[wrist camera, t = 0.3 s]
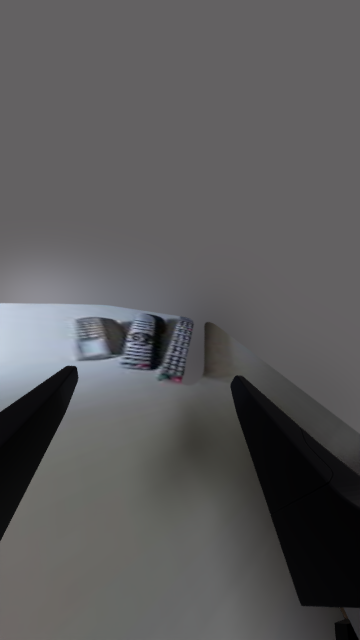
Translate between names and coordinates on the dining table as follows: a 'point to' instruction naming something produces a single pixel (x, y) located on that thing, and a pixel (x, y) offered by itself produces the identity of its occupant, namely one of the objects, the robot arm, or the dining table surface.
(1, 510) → the robot arm
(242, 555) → the dining table surface
